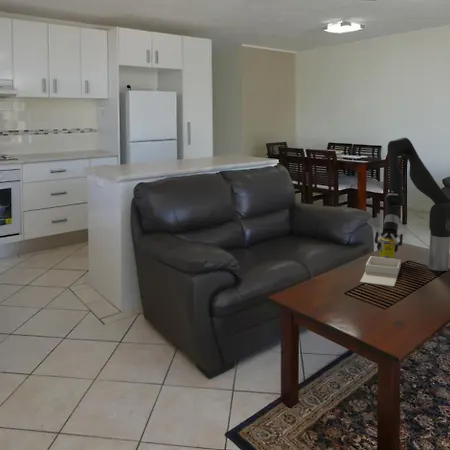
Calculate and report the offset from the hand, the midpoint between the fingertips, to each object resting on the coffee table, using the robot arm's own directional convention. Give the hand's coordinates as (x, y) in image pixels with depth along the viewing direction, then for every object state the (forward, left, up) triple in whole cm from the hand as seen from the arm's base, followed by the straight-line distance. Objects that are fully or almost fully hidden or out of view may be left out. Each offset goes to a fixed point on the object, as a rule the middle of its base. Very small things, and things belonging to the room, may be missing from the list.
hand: (386, 250), depth 249 cm
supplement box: (0, -1, -5) cm, 6 cm away
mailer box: (-1, +24, -5) cm, 25 cm away
